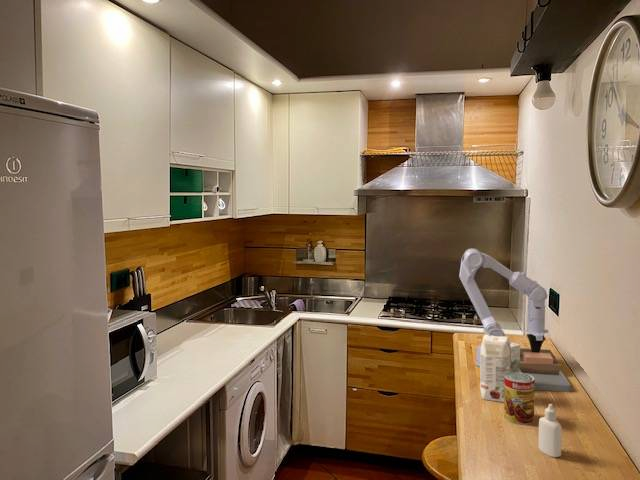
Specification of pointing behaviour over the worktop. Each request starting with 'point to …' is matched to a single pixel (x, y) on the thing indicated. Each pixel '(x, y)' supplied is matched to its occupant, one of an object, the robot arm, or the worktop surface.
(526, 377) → the canned food
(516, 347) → the syrup box
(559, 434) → the eye dropper bottle
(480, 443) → the worktop surface
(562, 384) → the tray
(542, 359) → the tile
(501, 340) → the juice carton
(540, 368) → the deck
